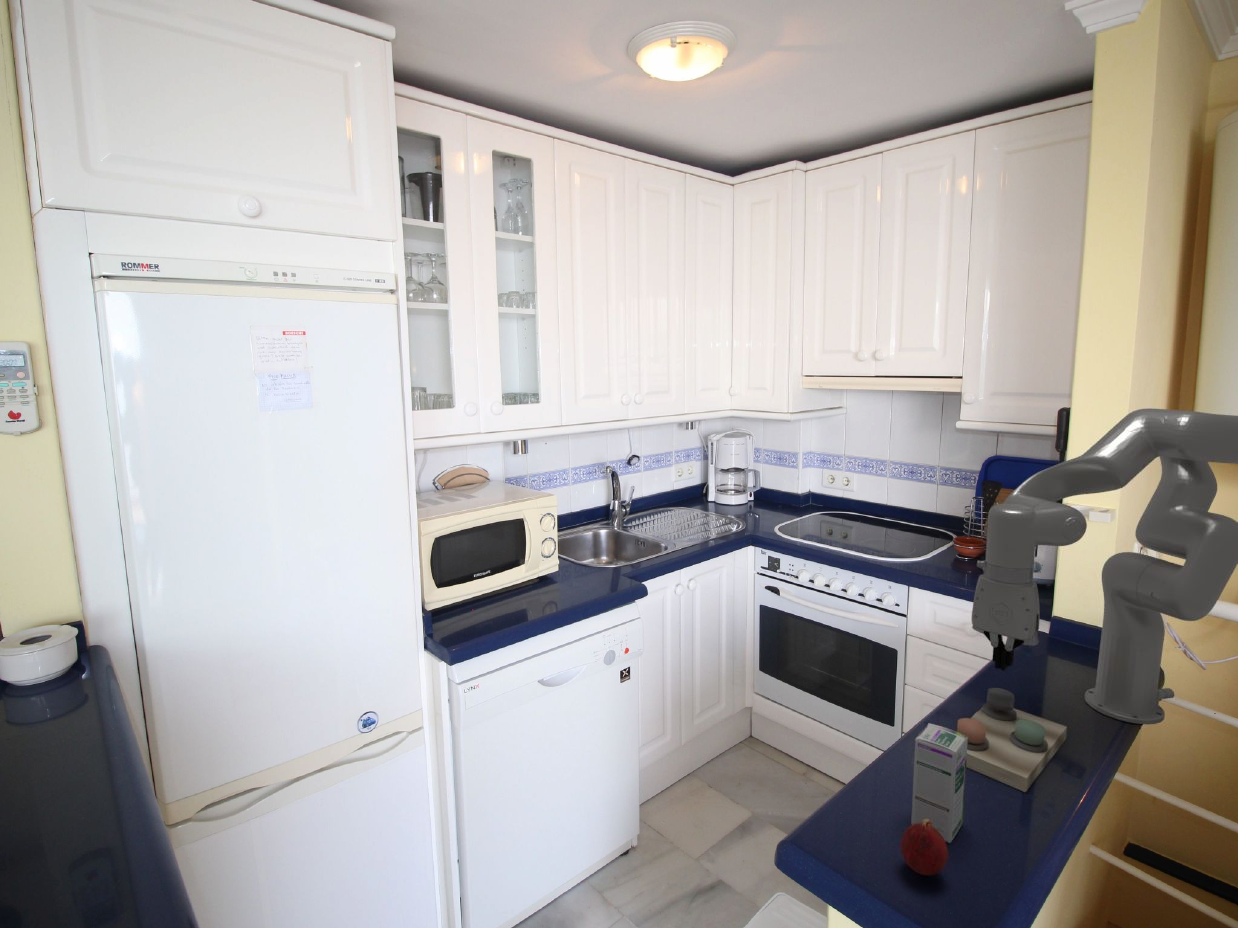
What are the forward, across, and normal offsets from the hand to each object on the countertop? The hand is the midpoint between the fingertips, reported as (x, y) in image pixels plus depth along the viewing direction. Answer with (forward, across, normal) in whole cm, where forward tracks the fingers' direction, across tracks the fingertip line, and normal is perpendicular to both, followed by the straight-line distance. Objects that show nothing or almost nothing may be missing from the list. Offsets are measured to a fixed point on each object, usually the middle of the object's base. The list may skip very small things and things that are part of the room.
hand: (1002, 666), depth 121 cm
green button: (+9, +7, -6) cm, 13 cm away
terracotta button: (+9, -1, -13) cm, 15 cm away
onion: (+12, +5, -46) cm, 48 cm away
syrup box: (+12, +3, -35) cm, 37 cm away
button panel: (+12, +3, -6) cm, 14 cm away
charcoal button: (+8, 0, +1) cm, 8 cm away
